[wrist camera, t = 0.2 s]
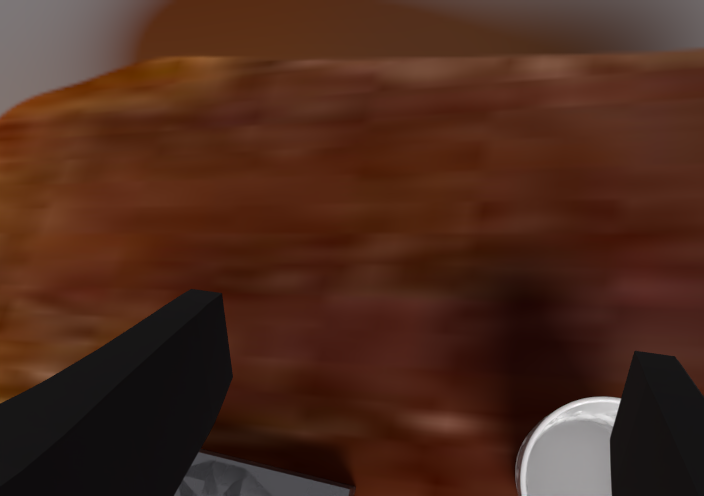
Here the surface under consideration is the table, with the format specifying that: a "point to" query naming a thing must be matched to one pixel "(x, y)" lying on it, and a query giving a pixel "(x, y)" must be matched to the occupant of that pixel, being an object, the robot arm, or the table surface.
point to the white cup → (569, 451)
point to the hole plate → (251, 479)
